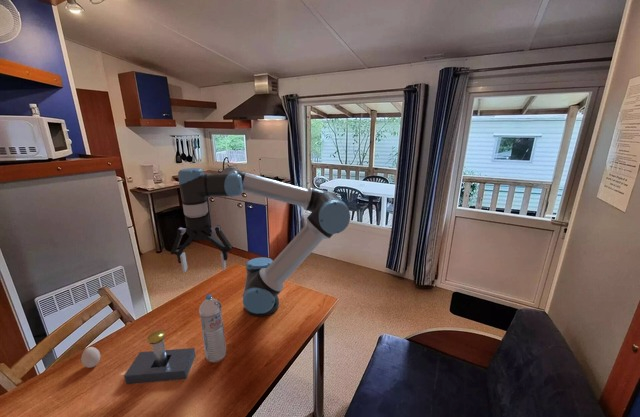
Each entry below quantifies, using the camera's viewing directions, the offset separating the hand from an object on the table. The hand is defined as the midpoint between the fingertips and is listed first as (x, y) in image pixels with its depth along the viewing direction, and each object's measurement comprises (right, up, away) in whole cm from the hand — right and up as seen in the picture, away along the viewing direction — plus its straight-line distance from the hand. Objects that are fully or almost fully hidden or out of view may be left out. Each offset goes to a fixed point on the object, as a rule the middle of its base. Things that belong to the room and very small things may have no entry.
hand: (205, 269), depth 94 cm
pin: (-11, -32, -8) cm, 34 cm away
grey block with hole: (-11, -32, -8) cm, 34 cm away
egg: (-35, -31, -7) cm, 47 cm away
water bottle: (+5, -31, -2) cm, 31 cm away
